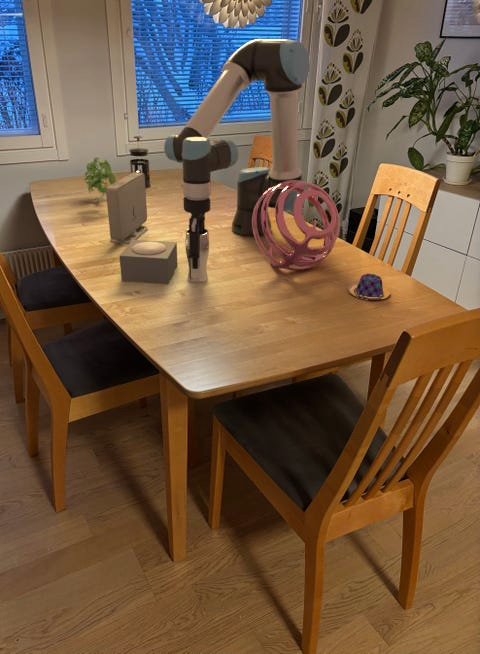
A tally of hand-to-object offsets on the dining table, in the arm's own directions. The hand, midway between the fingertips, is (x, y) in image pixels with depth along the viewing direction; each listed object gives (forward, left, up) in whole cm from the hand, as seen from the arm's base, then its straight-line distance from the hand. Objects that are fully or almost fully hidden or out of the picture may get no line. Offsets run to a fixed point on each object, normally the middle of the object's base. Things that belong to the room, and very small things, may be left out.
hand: (197, 272), depth 154 cm
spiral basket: (-29, -15, -2) cm, 33 cm away
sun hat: (-51, +2, -3) cm, 51 cm away
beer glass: (0, 0, -2) cm, 2 cm away
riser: (+15, -2, -2) cm, 15 cm away
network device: (+31, -36, -2) cm, 48 cm away
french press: (+45, -107, -2) cm, 116 cm away
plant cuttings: (+50, -74, -2) cm, 90 cm away
